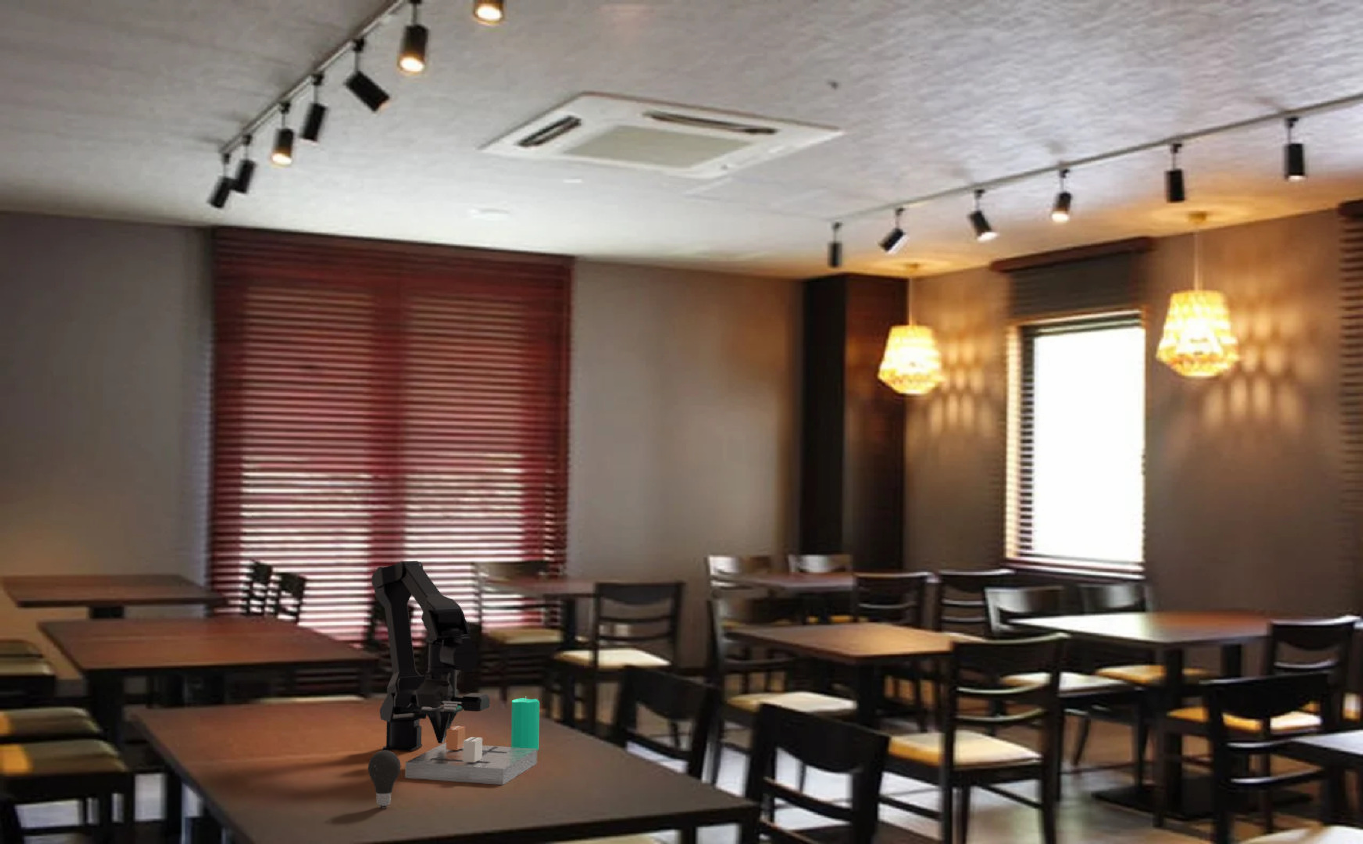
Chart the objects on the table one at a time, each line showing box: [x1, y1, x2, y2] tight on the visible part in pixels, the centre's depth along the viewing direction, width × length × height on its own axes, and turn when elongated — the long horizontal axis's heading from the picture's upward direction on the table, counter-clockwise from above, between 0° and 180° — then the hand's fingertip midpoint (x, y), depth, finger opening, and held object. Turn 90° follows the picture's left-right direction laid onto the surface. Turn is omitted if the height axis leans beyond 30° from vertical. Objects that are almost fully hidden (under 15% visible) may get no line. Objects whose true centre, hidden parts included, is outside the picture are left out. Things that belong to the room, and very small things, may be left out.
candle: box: [510, 697, 540, 751], centre depth 302 cm, size 6×6×12 cm
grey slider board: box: [404, 742, 538, 786], centre depth 280 cm, size 20×20×3 cm
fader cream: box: [463, 736, 483, 763], centre depth 275 cm, size 2×4×7 cm, turn 168°
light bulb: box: [367, 750, 401, 809], centre depth 249 cm, size 6×6×10 cm
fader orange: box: [445, 725, 466, 750], centre depth 286 cm, size 2×4×7 cm, turn 167°
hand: (440, 743), depth 287 cm, fingers closed
